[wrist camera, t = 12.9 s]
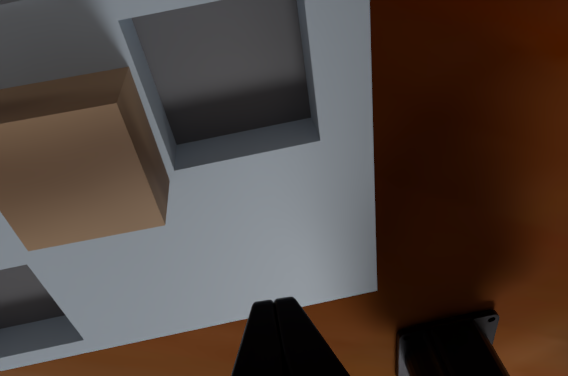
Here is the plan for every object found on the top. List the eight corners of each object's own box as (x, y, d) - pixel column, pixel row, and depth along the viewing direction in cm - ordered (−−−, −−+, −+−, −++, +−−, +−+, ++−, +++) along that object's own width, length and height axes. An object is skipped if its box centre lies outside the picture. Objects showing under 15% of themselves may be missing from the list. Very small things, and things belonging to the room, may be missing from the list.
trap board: (365, 261, 24) (383, 306, 22) (-40, 347, 23) (-67, 403, 21) (349, -77, 14) (378, -62, 12) (-353, 60, 14) (-470, 104, 11)
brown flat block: (169, 180, 17) (165, 225, 15) (49, 203, 16) (28, 251, 14) (128, 66, 14) (116, 102, 12) (-18, 92, 14) (-54, 133, 12)
